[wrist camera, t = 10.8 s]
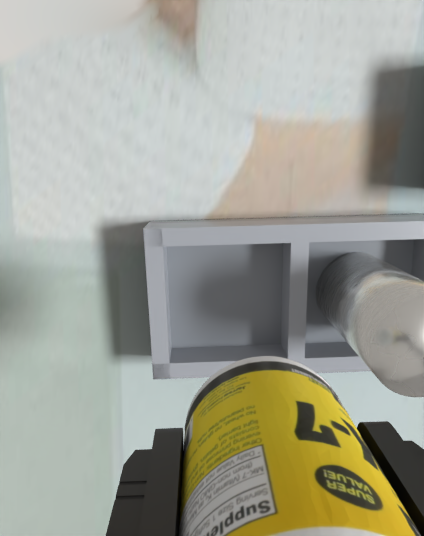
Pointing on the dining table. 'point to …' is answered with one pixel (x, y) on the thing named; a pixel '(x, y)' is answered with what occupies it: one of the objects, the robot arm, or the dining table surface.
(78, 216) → the dining table surface
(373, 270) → the seated billet
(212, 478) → the supplement bottle
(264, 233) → the tray
